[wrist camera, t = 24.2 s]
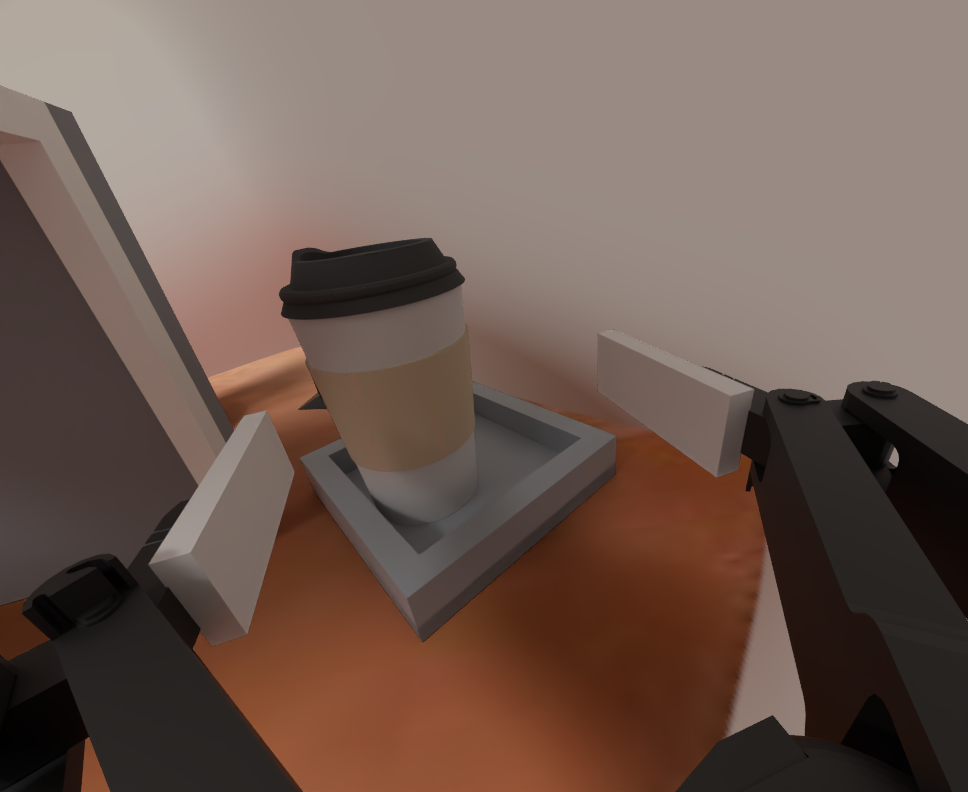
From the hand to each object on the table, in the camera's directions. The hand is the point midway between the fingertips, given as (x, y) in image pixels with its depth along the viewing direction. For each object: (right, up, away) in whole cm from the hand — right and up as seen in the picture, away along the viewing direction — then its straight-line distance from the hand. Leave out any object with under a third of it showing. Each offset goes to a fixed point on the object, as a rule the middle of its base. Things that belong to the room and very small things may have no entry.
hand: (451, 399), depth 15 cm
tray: (-1, -6, +11) cm, 13 cm away
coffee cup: (-2, -6, +10) cm, 12 cm away
